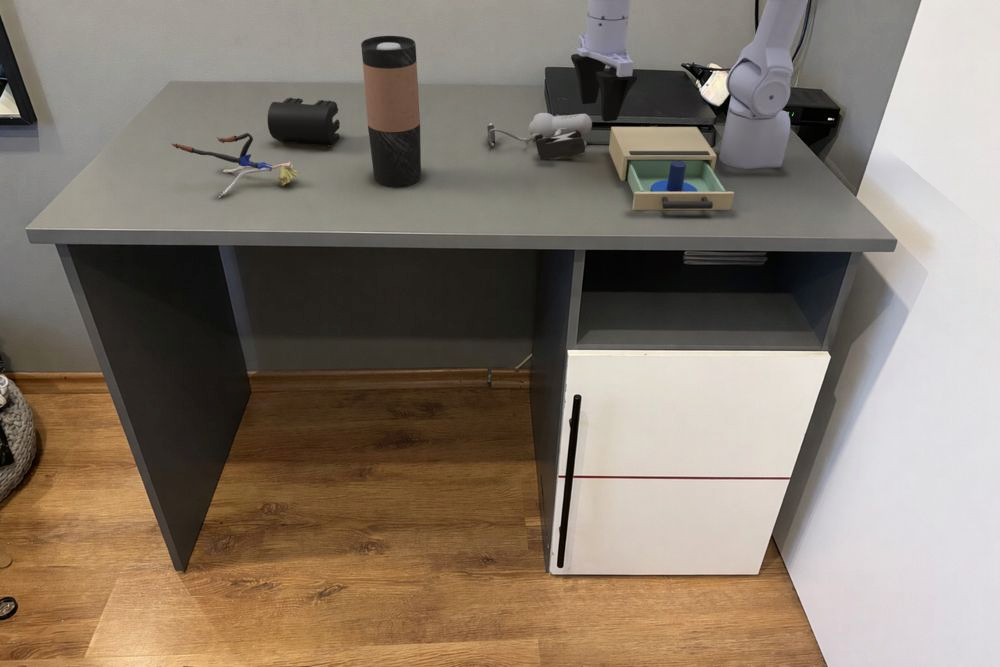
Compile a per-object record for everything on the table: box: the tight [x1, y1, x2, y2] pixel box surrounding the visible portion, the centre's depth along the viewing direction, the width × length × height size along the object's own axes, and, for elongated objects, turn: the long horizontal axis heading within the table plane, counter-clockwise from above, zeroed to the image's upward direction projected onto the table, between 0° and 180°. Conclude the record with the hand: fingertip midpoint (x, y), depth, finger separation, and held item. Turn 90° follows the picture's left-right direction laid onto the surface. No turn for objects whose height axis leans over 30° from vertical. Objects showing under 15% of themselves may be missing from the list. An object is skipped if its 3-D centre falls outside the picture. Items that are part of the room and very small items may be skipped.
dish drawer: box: [608, 126, 718, 182], centre depth 118 cm, size 14×12×5 cm
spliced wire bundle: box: [170, 132, 299, 199], centre depth 110 cm, size 10×9×20 cm
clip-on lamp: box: [486, 112, 593, 161], centre depth 124 cm, size 12×6×18 cm
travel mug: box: [360, 35, 422, 188], centre depth 110 cm, size 8×8×20 cm
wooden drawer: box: [625, 160, 735, 211], centre depth 110 cm, size 14×14×3 cm
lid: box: [650, 161, 698, 192], centre depth 109 cm, size 7×7×5 cm
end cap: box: [267, 97, 341, 147], centre depth 124 cm, size 10×7×7 cm
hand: (598, 111), depth 113 cm, fingers open, 7 cm apart
